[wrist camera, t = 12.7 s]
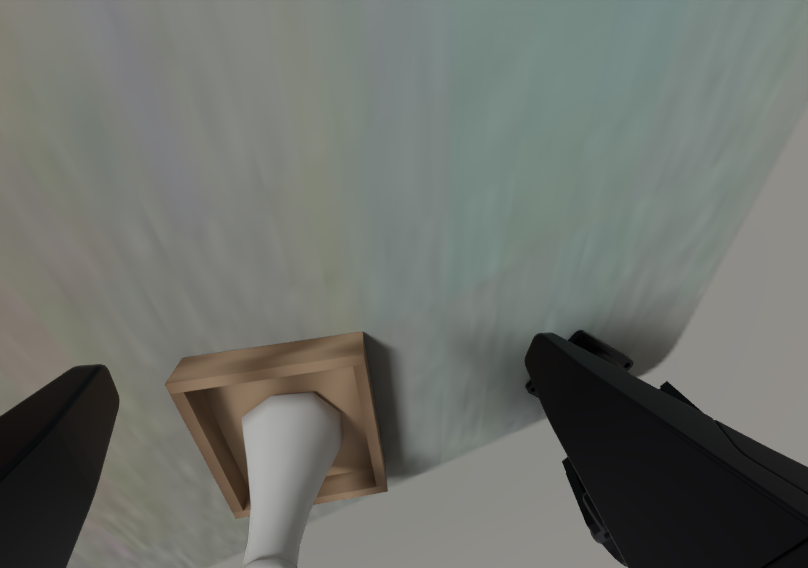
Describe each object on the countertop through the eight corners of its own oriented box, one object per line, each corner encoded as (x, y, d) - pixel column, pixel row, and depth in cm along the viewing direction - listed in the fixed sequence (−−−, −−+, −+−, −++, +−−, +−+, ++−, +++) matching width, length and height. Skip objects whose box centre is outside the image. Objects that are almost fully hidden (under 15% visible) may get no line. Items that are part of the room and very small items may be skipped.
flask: (319, 375, 25) (300, 528, 16) (359, 440, 28) (362, 595, 19) (224, 410, 25) (152, 578, 16) (274, 469, 28) (238, 636, 19)
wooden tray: (362, 331, 24) (363, 354, 22) (385, 463, 31) (387, 491, 29) (182, 357, 23) (164, 384, 21) (244, 488, 30) (235, 518, 28)
